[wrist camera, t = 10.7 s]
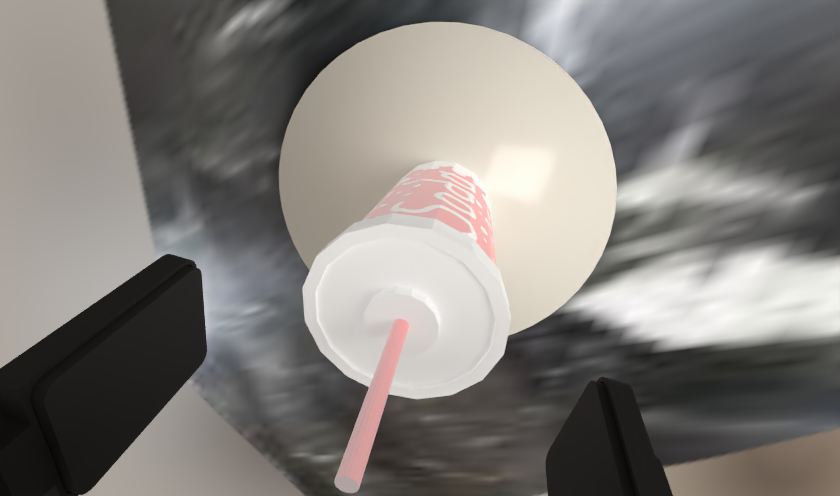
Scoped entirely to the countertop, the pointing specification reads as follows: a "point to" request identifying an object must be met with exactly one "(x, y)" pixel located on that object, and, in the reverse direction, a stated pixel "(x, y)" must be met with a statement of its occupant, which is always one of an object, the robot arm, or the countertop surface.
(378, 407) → the beverage cup
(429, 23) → the dish
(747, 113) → the countertop surface
